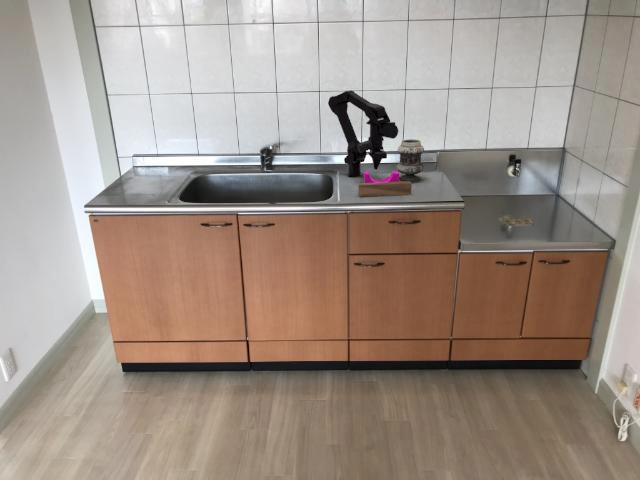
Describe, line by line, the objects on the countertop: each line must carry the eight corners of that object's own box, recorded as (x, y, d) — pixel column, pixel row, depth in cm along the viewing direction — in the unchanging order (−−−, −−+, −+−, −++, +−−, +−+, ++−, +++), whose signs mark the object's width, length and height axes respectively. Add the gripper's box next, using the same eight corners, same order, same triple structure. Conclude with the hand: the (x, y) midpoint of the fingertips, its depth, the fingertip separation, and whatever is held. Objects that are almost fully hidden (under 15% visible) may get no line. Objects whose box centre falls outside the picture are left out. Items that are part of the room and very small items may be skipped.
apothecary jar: (412, 174, 242) (414, 136, 235) (428, 180, 232) (430, 141, 225) (391, 178, 238) (392, 139, 231) (405, 184, 228) (407, 144, 220)
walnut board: (358, 194, 216) (358, 183, 214) (409, 192, 218) (409, 181, 216) (359, 197, 213) (359, 185, 211) (410, 194, 215) (411, 183, 213)
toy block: (397, 185, 227) (397, 169, 224) (398, 190, 221) (399, 173, 218) (363, 186, 228) (363, 170, 225) (364, 190, 222) (364, 174, 219)
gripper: (355, 131, 233) (354, 164, 239) (362, 140, 216) (361, 175, 222) (378, 130, 234) (378, 163, 240) (387, 139, 217) (386, 174, 223)
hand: (375, 169), depth 232 cm, fingers closed
